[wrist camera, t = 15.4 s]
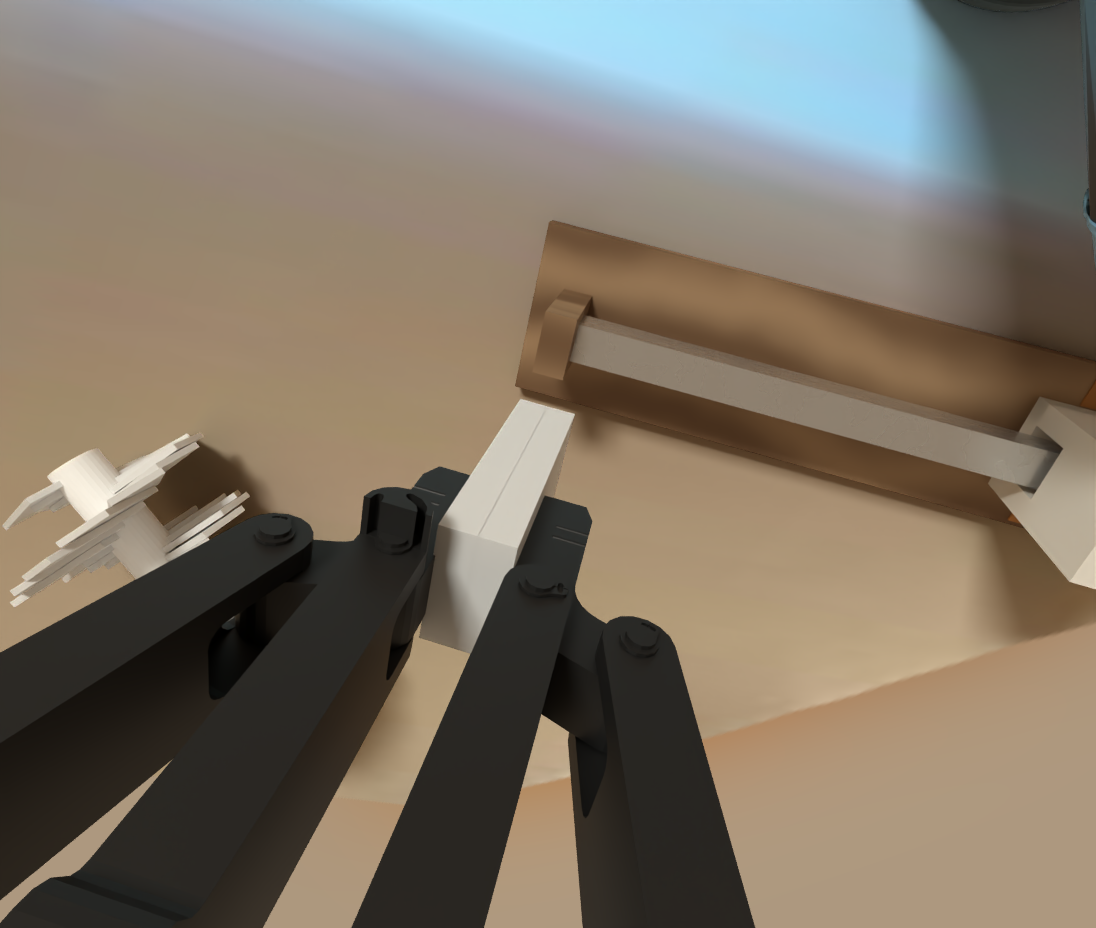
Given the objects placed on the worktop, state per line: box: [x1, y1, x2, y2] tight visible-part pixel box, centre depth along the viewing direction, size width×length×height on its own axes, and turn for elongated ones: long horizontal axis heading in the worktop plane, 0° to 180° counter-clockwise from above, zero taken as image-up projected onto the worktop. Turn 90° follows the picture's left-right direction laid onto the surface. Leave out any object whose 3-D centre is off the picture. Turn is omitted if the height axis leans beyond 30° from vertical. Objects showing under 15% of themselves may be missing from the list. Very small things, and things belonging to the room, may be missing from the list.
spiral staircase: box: [2, 432, 250, 621], centre depth 57 cm, size 18×18×25 cm
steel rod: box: [570, 315, 1063, 489], centre depth 44 cm, size 3×42×3 cm, turn 77°
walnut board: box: [515, 220, 1096, 528], centre depth 45 cm, size 12×46×8 cm, turn 77°
